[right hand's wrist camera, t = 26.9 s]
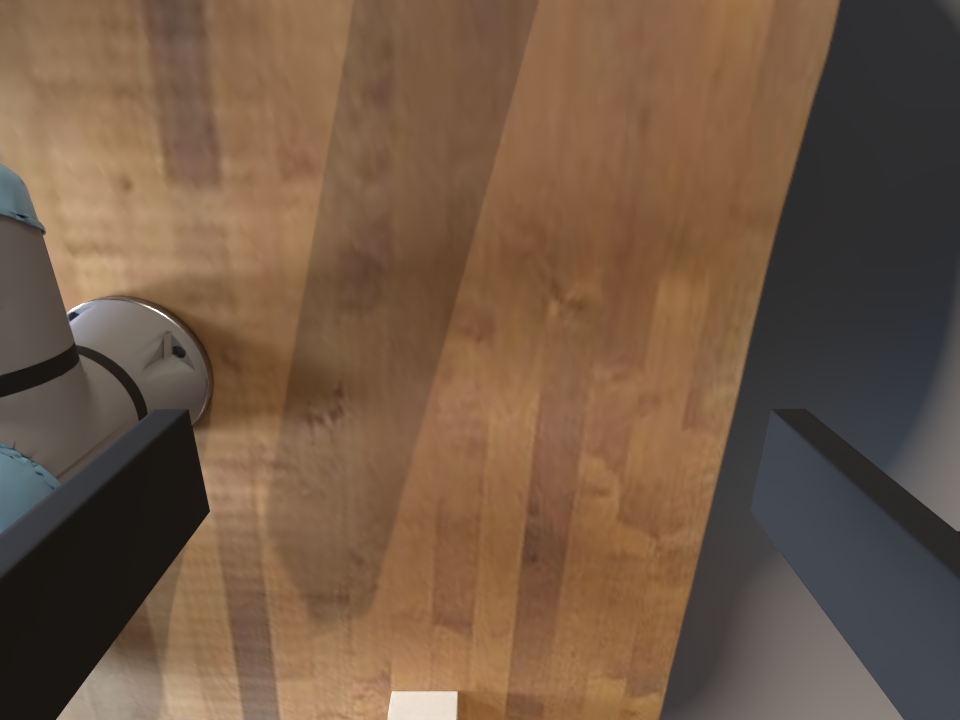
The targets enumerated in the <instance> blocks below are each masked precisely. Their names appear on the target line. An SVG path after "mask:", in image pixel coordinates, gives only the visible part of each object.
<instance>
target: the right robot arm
mask: <svg viewBox="0 0 960 720" xmlns="http://www.w3.org/2000/svg"><path fill="white" fill-rule="evenodd" d="M45 234H46V230H45V228H44V226H43V225H42V224H41V223H40V222H39V221H38V218H37V215H36V212H35V209H34V207H33V204H32V201H31V198H30V195H29V193H28V190H27V187H26V185H25V184H24V182H23V181H22V179H21V178H20V177H19V176H18V175H16V174H15V173H14V172H13V171H11V170H10V169H8V168H6V167H4V166H2V165H0V720H56V719H57V717H58V716H59V715H60V713H61V712H62V711H63V709H64V708H65V707H66V705H67V704H68V703H69V701H70V700H71V698H72V697H73V696H74V694H75V693H76V692H77V690H78V689H79V688H80V686H81V685H82V684H83V682H84V681H85V680H86V678H87V677H88V676H89V674H90V673H91V671H92V670H93V669H94V667H95V666H96V665H97V663H98V662H99V661H100V659H101V658H102V657H103V655H104V654H105V653H106V651H107V650H108V648H109V647H110V646H111V644H112V643H113V642H114V640H115V639H116V638H117V636H118V635H119V634H120V632H121V631H122V630H123V628H124V627H125V625H126V624H127V623H128V621H129V620H130V619H131V617H132V616H133V615H134V613H135V612H136V611H137V609H138V608H139V607H140V605H141V604H142V603H143V601H144V600H145V598H146V597H147V596H148V594H149V593H150V592H151V590H152V589H153V588H154V586H155V585H156V584H157V582H158V581H159V580H160V578H161V577H162V575H163V574H164V573H165V571H166V570H167V569H168V567H169V566H170V565H171V563H172V562H173V561H174V559H175V558H176V557H177V555H178V554H179V552H180V551H181V550H182V548H183V547H184V546H185V544H186V543H187V542H188V540H189V539H190V538H191V536H192V535H193V534H194V532H195V531H196V529H197V528H198V527H199V525H200V524H201V523H202V521H203V520H204V519H205V517H206V516H207V515H208V513H209V512H210V509H209V505H208V500H207V495H206V490H205V485H204V481H203V476H202V471H201V466H200V461H199V457H198V452H197V447H196V442H195V437H194V433H193V428H192V425H193V424H194V423H195V422H196V421H197V420H198V419H199V418H200V417H201V416H202V414H203V413H204V412H205V410H206V408H207V406H208V404H209V402H210V399H211V395H212V390H213V373H212V367H211V364H210V360H209V358H208V355H207V353H206V351H205V349H204V347H203V345H202V343H201V342H200V340H199V339H198V337H197V336H196V335H195V333H194V332H193V331H192V330H191V329H190V328H189V327H188V326H187V325H186V324H185V323H184V322H183V321H182V320H181V319H179V318H178V317H177V316H176V315H174V314H173V313H171V312H170V311H168V310H166V309H165V308H163V307H161V306H159V305H157V304H155V303H152V302H149V301H147V300H143V299H140V298H135V297H129V296H107V297H102V298H98V299H94V300H92V301H89V302H87V303H84V304H82V305H79V306H77V307H76V308H74V309H72V310H71V311H69V312H68V313H66V310H65V307H64V304H63V300H62V297H61V294H60V291H59V287H58V284H57V281H56V278H55V274H54V271H53V268H52V264H51V261H50V258H49V255H48V251H47V248H46V245H45V241H44V238H43V235H45ZM750 512H751V513H752V515H753V516H754V517H755V519H756V520H757V521H758V523H759V524H760V525H761V527H762V528H763V529H764V531H765V532H766V534H767V535H768V536H769V538H770V539H771V540H772V542H773V543H774V544H775V546H776V547H777V548H778V550H779V551H780V552H781V554H782V555H783V557H784V558H785V559H786V561H787V562H788V563H789V565H790V566H791V567H792V569H793V570H794V571H795V573H796V574H797V575H798V577H799V578H800V580H801V581H802V582H803V584H804V585H805V586H806V588H807V589H808V590H809V592H810V593H811V594H812V596H813V597H814V598H815V600H816V601H817V602H818V604H819V605H820V607H821V608H822V609H823V611H824V612H825V613H826V615H827V616H828V617H829V619H830V620H831V621H832V623H833V624H834V625H835V627H836V628H837V630H838V631H839V632H840V634H841V635H842V636H843V638H844V639H845V640H846V642H847V643H848V644H849V646H850V647H851V648H852V650H853V651H854V652H855V654H856V655H857V657H858V658H859V659H860V661H861V662H862V663H863V665H864V666H865V667H866V669H867V670H868V671H869V673H870V674H871V676H872V677H873V678H874V680H875V681H876V682H877V683H878V685H879V686H880V688H881V689H882V690H883V692H884V693H885V694H886V696H887V697H888V698H889V700H890V701H891V703H892V704H893V705H894V707H895V708H896V709H897V711H898V712H899V713H900V715H901V716H902V717H903V719H904V720H960V531H956V530H955V529H953V528H952V527H951V526H950V525H948V524H947V523H946V522H945V521H943V520H942V519H941V518H940V517H938V516H937V515H936V514H935V513H933V512H932V511H931V510H930V509H929V508H927V507H926V506H925V505H924V504H922V503H921V502H920V501H919V500H917V499H916V498H915V497H914V496H912V495H911V494H910V493H909V492H908V491H906V490H905V489H904V488H903V487H901V486H900V485H899V484H898V483H896V482H895V481H894V480H893V479H891V478H890V477H889V476H888V475H886V474H885V473H884V472H883V471H882V470H880V469H879V468H878V467H877V466H875V465H874V464H873V463H872V462H870V461H869V460H868V459H867V458H865V457H864V456H863V455H862V454H860V453H859V452H858V451H857V450H856V449H854V448H853V447H852V446H851V445H849V444H848V443H847V442H846V441H844V440H843V439H842V438H841V437H839V436H838V435H837V434H836V433H834V432H833V431H832V430H831V429H830V428H828V427H827V426H826V425H825V424H823V423H822V422H821V421H820V420H818V419H817V418H816V417H815V416H813V415H812V414H811V413H810V412H808V411H807V410H806V409H771V413H770V418H769V423H768V428H767V433H766V438H765V442H764V447H763V452H762V457H761V461H760V466H759V471H758V476H757V481H756V485H755V490H754V495H753V500H752V505H751V509H750Z"/></svg>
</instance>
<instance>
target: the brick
mask: <svg viewBox="0 0 960 720" xmlns="http://www.w3.org/2000/svg"><path fill="white" fill-rule="evenodd" d="M387 720H458V691H392V695H391V701H390V707H389V713H388V719H387Z"/></svg>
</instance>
